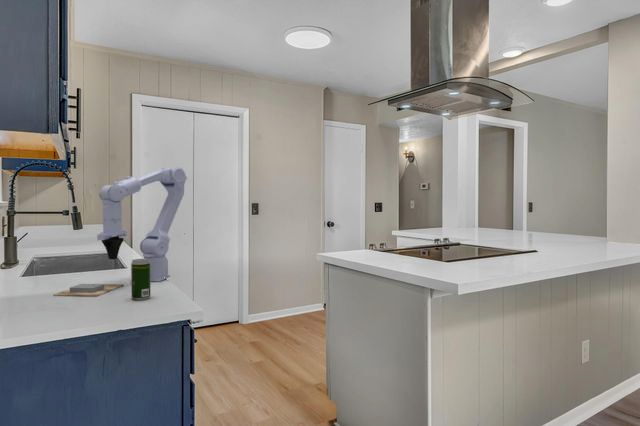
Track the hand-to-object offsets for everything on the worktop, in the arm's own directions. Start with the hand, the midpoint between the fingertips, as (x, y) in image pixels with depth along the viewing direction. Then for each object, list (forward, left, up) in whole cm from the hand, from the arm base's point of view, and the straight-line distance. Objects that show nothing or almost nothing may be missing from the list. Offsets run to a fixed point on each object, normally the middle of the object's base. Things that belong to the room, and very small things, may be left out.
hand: (112, 259), depth 139 cm
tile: (+4, -5, -9) cm, 11 cm away
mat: (+5, -5, -10) cm, 12 cm away
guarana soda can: (+14, +17, -10) cm, 24 cm away
